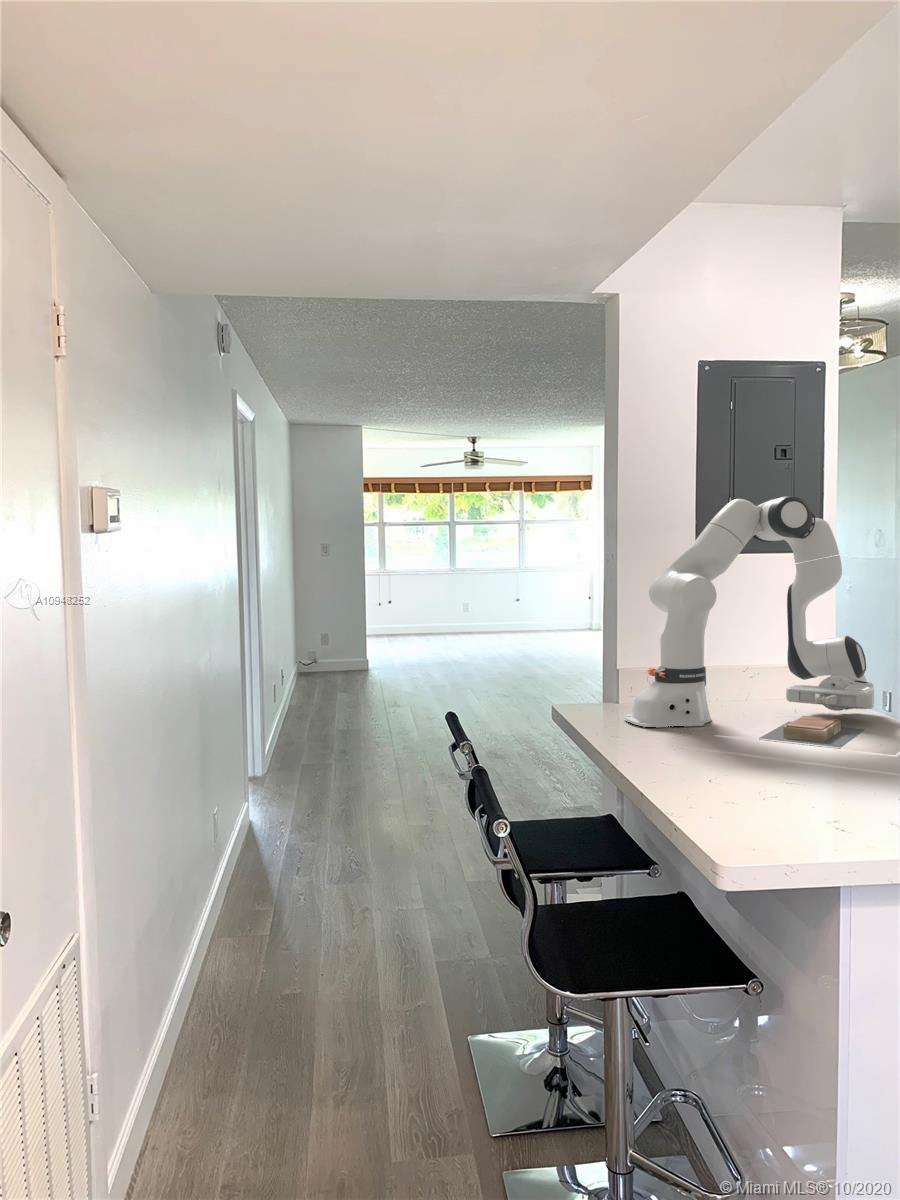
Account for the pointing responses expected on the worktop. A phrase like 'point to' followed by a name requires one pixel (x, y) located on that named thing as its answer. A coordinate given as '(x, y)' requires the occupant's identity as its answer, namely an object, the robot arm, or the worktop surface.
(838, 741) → the rubber mat
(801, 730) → the flat wooden block
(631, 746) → the worktop surface
